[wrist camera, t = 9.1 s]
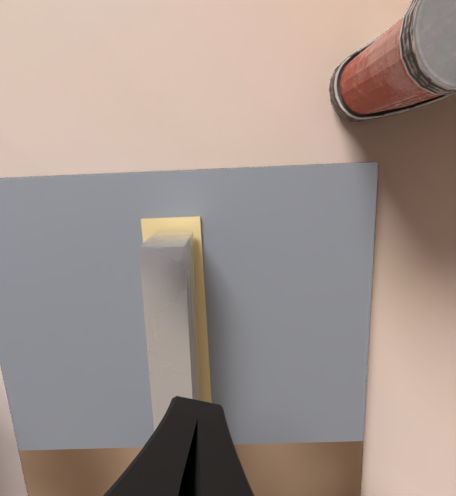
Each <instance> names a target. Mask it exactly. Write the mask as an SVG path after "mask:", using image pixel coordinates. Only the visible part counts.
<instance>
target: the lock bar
mask: <svg viewBox="0 0 456 496" xmlns="http://www.w3.org/2000/svg"><path fill="white" fill-rule="evenodd" d="M139 259H140V271H141V282H142V294H143V306H144V318H145V330H146V342H147V354H148V365H149V377H150V389H151V401H152V413H153V425H154V431H155V430H156V428H157V427H158V425H159V423H160V422H161V420H162V418H163V417H164V415H165V413H166V411H167V409H168V407H169V405H170V402H171V400H172V398H174V397H176V396H180V397H185V398H190V399H195V400H199V401H201V385H200V364H199V343H198V322H197V301H196V280H195V258H194V237H193V231H156V232H155V233H154V234H153V235H152V236H151V237H149V238H148V239H147V240H146V241H145V242H144V243H143V244H142V245H141V246H140V247H139Z"/></svg>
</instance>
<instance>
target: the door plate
mask: <svg viewBox="0 0 456 496" xmlns="http://www.w3.org/2000/svg"><path fill="white" fill-rule="evenodd" d="M377 178H378V162H361V163H338V164H315V165H291V166H268V167H245V168H222V169H198V170H175V171H152V172H129V173H105V174H82V175H59V176H36V177H12V178H0V366H1V370H2V375H3V380H4V384H5V389H6V394H7V399H8V403H9V408H10V413H11V417H12V422H13V427H14V432H15V436H16V441H17V446H18V450H19V451H24V450H60V449H96V448H132V447H144V445H145V444H146V443H147V441H148V440H149V438H150V437H151V435H152V434H153V433H154V425H153V413H152V401H151V389H150V377H149V365H148V354H147V342H146V330H145V318H144V306H143V294H142V282H141V271H140V259H139V247H140V246H141V245H142V244H143V243H144V242H145V241H146V240H147V239H148V238H149V237H151V236H152V235H153V234H154V233H155V232H156V231H193V237H194V258H195V280H196V301H197V322H198V343H199V364H200V385H201V401H204V402H209V403H214V404H219V405H221V406H222V408H223V409H224V414H225V418H226V422H227V425H228V428H229V432H230V435H231V438H232V441H233V444H234V445H239V444H275V443H311V442H347V441H363V438H364V419H365V401H366V382H367V364H368V345H369V326H370V308H371V289H372V271H373V252H374V234H375V215H376V197H377Z"/></svg>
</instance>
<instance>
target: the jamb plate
mask: <svg viewBox="0 0 456 496" xmlns="http://www.w3.org/2000/svg"><path fill="white" fill-rule="evenodd" d="M234 447H235V449H236V452H237V455H238V457H239V460H240V463H241V465H242V468H243V470H244V473H245V475H246V478H247V480H248V482H249V485H250V487H251V489H252V491H253V494H254V496H360V494H361V475H362V456H363V441H347V442H311V443H275V444H239V445H234ZM142 448H143V447H132V448H96V449H60V450H24V451H19V455H20V460H21V465H22V469H23V474H24V479H25V483H26V488H27V493H28V496H103V495H104V494H105V493H106V492H107V491H108V490H109V489H110V487H111V486H112V485H113V484H114V483H115V482H116V481H117V479H118V478H119V477H120V476H121V475H122V473H123V472H124V471H125V470H126V469H127V467H128V466H129V465H130V464H131V462H132V461H133V460H134V459H135V457H136V456H137V455H138V454H139V452H140V451H141V450H142Z"/></svg>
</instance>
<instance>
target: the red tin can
mask: <svg viewBox="0 0 456 496" xmlns="http://www.w3.org/2000/svg"><path fill="white" fill-rule="evenodd" d="M329 93H330V100H331V102H332V105H333V107H334V109H335V111H336V112H337V113H338V114H339V115H340V116H341V117H342V118H345V119H347V120H349V121H356V122H360V121H365V120H370V119H376V118H381V117H386V116H391V115H396V114H399V113H403V112H406V111H409V110H412V109H415V108H418V107H421V106H425V105H428V104H431V103H434V102H437V101H440V100H443V99H445V98H447V97H449V96H451V95H453V94H455V93H456V0H413V1H412V2H411V3H410V5H409V7H408V9H407V11H406V13H405V15H404V17H403V18H402V19H401V20H399V21H398V22H397V23H396V24H395V25H393V26H392V27H391V28H390V29H389V30H387V31H386V32H385V33H383V34H382V35H380V36H379V37H377V38H376V39H374V40H373V41H371V42H370V43H368V44H367V45H365V46H364V47H362V48H361V49H359V50H358V51H356V52H355V53H353V54H352V55H350V56H349V57H347V58H346V59H345V60H344V61H343V62H342V63H341V64H340V65H339V66H338V67H337V68H336V69H335V71H334V73H333V75H332V77H331V79H330V86H329Z"/></svg>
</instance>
